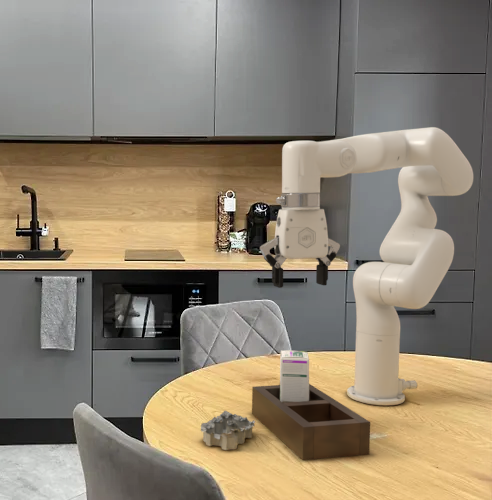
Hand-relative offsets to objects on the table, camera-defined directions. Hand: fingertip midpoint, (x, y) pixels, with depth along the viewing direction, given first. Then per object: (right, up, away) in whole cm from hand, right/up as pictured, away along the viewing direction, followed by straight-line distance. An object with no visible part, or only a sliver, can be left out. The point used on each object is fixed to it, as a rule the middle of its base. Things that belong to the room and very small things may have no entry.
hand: (300, 285), depth 127 cm
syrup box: (-1, -29, 0) cm, 28 cm away
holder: (0, -29, -5) cm, 29 cm away
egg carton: (-16, -29, -9) cm, 34 cm away
